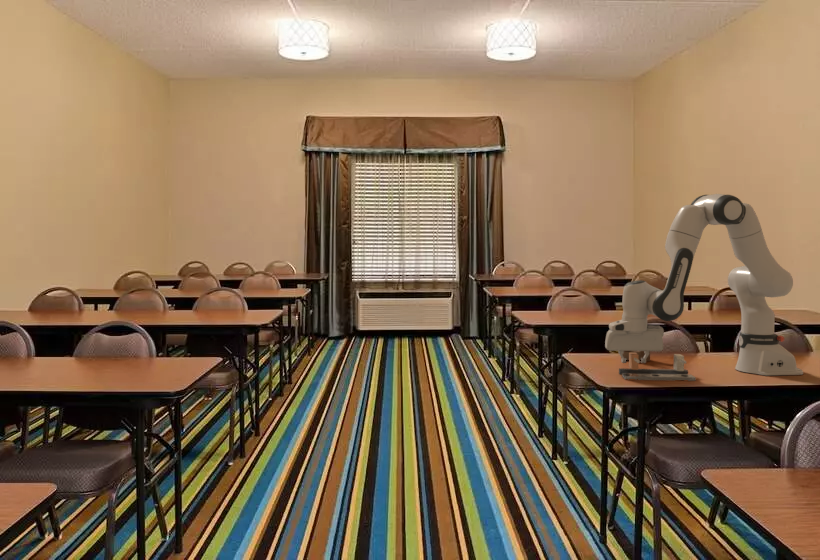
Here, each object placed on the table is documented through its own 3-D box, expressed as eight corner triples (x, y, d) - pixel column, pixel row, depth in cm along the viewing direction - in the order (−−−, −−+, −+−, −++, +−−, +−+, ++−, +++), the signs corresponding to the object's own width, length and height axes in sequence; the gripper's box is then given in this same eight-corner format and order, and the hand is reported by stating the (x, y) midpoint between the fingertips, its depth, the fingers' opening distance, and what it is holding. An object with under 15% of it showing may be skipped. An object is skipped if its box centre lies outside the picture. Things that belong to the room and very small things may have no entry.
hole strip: (691, 377, 250) (691, 374, 250) (695, 380, 245) (695, 377, 245) (621, 376, 252) (621, 372, 252) (624, 379, 247) (624, 375, 247)
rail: (685, 373, 257) (685, 354, 257) (693, 379, 248) (694, 359, 247) (618, 372, 260) (618, 353, 259) (623, 378, 250) (624, 358, 249)
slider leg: (635, 367, 259) (635, 352, 258) (641, 372, 249) (642, 357, 249) (628, 367, 259) (629, 352, 259) (634, 372, 249) (635, 357, 249)
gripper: (661, 324, 258) (660, 361, 259) (604, 323, 260) (603, 360, 261) (666, 326, 252) (665, 364, 253) (607, 326, 253) (607, 364, 254)
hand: (633, 362), depth 257 cm, fingers open, 5 cm apart
